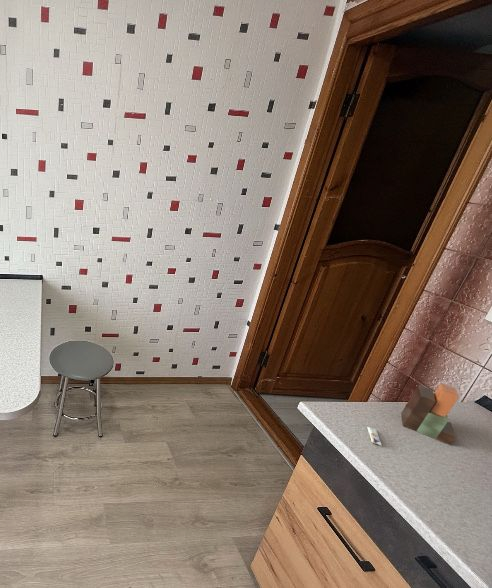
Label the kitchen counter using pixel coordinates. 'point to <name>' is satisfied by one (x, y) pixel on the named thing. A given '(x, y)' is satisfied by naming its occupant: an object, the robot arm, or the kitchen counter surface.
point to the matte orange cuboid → (444, 400)
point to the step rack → (426, 416)
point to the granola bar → (374, 436)
